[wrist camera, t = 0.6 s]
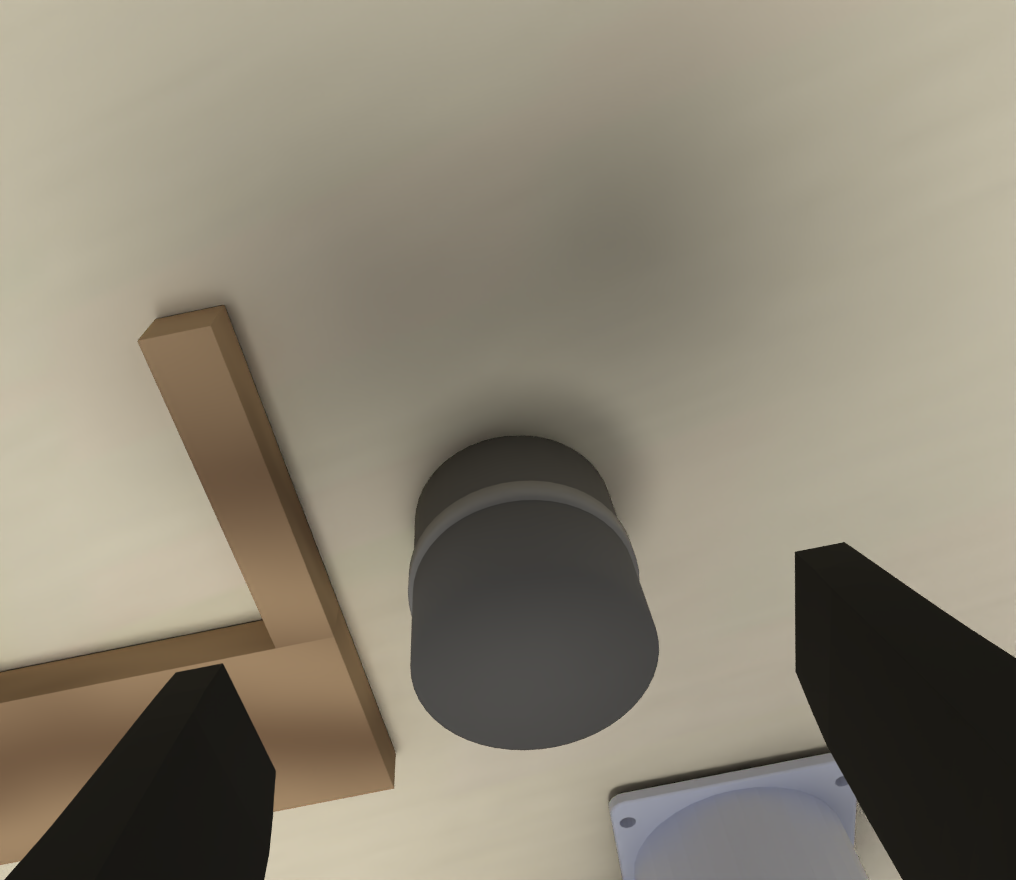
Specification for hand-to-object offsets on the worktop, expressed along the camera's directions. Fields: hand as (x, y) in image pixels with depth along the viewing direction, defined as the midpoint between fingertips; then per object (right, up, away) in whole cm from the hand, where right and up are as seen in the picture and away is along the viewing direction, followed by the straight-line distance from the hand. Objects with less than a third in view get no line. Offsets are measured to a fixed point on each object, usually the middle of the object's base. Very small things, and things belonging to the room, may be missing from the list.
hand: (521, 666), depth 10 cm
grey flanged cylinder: (0, +1, +10) cm, 10 cm away
